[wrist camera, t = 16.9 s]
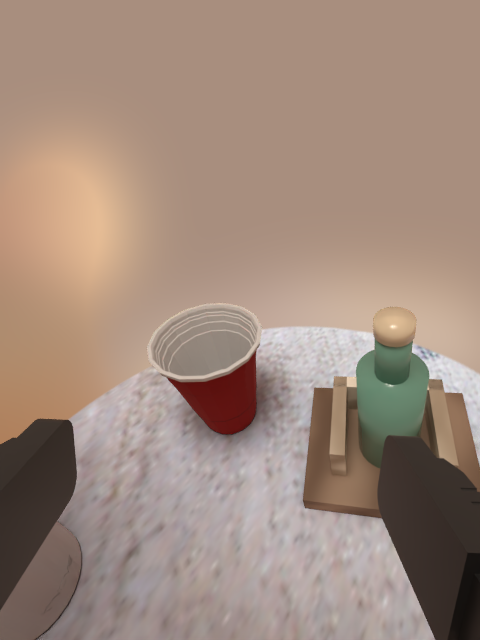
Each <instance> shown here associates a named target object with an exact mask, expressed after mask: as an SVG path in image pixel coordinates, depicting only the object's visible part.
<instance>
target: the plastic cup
mask: <svg viewBox="0 0 480 640" xmlns="http://www.w3.org/2000/svg"><path fill="white" fill-rule="evenodd" d="M261 331H262V326H261V325H260V322H259V321H258V319H257V317H256V315H255V314H253V313H252V312H250V311H249V310H247V309H245V308H244V307H242V306H236V305H232V304H227V303H215V304H203V305H200V306H196V307H193V308H190V309H186V310H184V311H182V312H180V313H178V314H176V315H175V316H173V317H171V318H169V319H167V320H166V321H165V322H164V323H163V324H162V325H161V326H160V327H159V328H158V329H157V330H156V331H155V332H154V333H153V335H152V338H151V340H150V342H149V344H148V346H147V348H148V359H149V362H150V363H151V364H152V365H153V366H154V367H155V368H156V370H157V371H158V372H159V373H160V374H161V375H162V376H164V377H167V379H168V380H169V381H170V382H171V383H172V384H173V385H174V386H175V387H176V389H177V390H178V391H179V392H180V393H181V395H182V396H183V397H184V398H185V400H186V401H187V402H188V403H189V405H190V406H191V407H192V408H193V410H194V411H195V412H196V413H197V414H198V415H199V416H200V417H201V418H202V419H203V420H204V422H205V423H206V424H207V425H208V426H209V427H210V428H211V429H213V430H214V431H215V432H218V433H221V434H234V433H237V432H239V431H242V430H243V429H245V428H246V427H247V426H248V425H249V424H250V423H251V422H252V420H253V418H254V416H255V412H256V404H257V402H256V350H257V348H258V347H259V345H260V338H261Z"/></svg>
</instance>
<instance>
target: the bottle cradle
mask: <svg viewBox="0 0 480 640" xmlns="http://www.w3.org/2000/svg"><path fill="white" fill-rule="evenodd" d="M420 437H421V438H422V439H423V441H424V442H425V443H426V444H427V446H428V447H429V448H430V450H431V451H432V452H433V453H434V455H435V456H436V457H437V458H444V459H445V460H447V461H448V462H450V463H451V464H452V465H454V466H455V467H457V468H458V469H460V470H461V471H462V472H464V474H465V475H466V476H467V477H468V478H469V480H470V481H471V482H472V483H473V484H474V486H475V487H476V488H477V492H480V467H479V463H478V458H477V454H476V450H475V446H474V441H473V437H472V433H471V429H470V424H469V420H468V416H467V411H466V407H465V403H464V399H463V394H462V393H444V388H443V383H442V380H436V379H429V382H428V389H427V395H426V402H425V409H424V415H423V422H422V428H421V435H420ZM379 474H380V468H377V467H375V466H374V465H372V464H371V463H369V462H368V461H367V460H366V459H365V458H364V456H363V455H362V453H361V451H360V448H359V437H358V408H357V380H356V377H334V386H333V388H314V397H313V407H312V417H311V427H310V436H309V446H308V456H307V466H306V476H305V486H304V496H303V502H304V506H305V508H310V509H318V510H325V511H333V512H340V513H348V514H356V515H363V516H371V517H378V518H382V517H381V514H380V511H379V506H378V499H377V488H378V481H379Z"/></svg>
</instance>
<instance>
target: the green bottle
mask: <svg viewBox="0 0 480 640" xmlns="http://www.w3.org/2000/svg"><path fill="white" fill-rule="evenodd" d="M415 329H416V317H415V315H414V314H413V313H412V312H410V311H409V310H407V309H404V308H400V307H388V308H384V309H381V310H380V311H378V312H377V313H376V314H375V316H374V318H373V335H374V337H375V350H373V351H370V352H369V353H367V354H365V355H364V356H363V357H362V358H361V359H360V361H359V362H358V364H357V368H356V380H357V408H358V437H359V448H360V451H361V453H362V455H363V456H364V458H365V459H366V460H367V461H368V462H369V463H371V464H372V465H374V466H375V467H377V468H381V461H382V454H383V448H384V442H385V439H386V437H387V436H388V435H396V436H418V437H420V435H421V428H422V422H423V415H424V409H425V402H426V395H427V389H428V382H429V371H428V368H427V366H426V364H425V363H424V362H423V361H422V360H421V359H420V358H419V357H418V356H417V355H415V354H413V353H412V343H413V339H414V337H415Z"/></svg>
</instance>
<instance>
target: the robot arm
mask: <svg viewBox="0 0 480 640" xmlns="http://www.w3.org/2000/svg"><path fill="white" fill-rule="evenodd" d="M76 479H77V470H76V458H75V446H74V434H73V426H72V423H71V422H70V421H69V420H56V419H37V420H35V421H34V422H33V423H32V424H31V425H30V426H29V427H28V428H27V429H26V430H25V431H24V432H23V433H22V434H21V435H19V436H18V437H17V438H11V439H10V440H8V441H6V442H4V443H2V444H0V640H35V639H36V638H37V637H39V636H40V635H41V634H42V633H44V632H45V631H46V630H47V629H48V628H49V627H50V626H51V625H52V624H53V623H54V622H55V621H56V620H57V619H58V617H59V616H60V614H61V613H62V612H63V610H64V609H65V607H66V606H67V604H68V602H69V600H70V599H71V597H72V595H73V593H74V590H75V588H76V585H77V582H78V579H79V575H80V570H81V550H80V545H79V543H78V541H77V539H76V537H75V536H74V535H73V534H72V533H71V532H70V531H69V530H68V529H66V528H65V527H64V526H63V525H61V524H60V523H59V522H58V521H57V520H58V518H59V517H60V515H61V514H62V512H63V510H64V509H65V507H66V506H67V504H68V502H69V501H70V499H71V497H72V495H73V492H74V489H75V485H76ZM377 499H378V506H379V511H380V514H381V517H382V519H383V521H384V523H385V526H386V528H387V530H388V532H389V535H390V537H391V539H392V542H393V544H394V546H395V548H396V551H397V553H398V555H399V558H400V560H401V562H402V564H403V567H404V569H405V571H406V574H407V576H408V578H409V580H410V583H411V585H412V587H413V590H414V592H415V594H416V596H417V599H418V601H419V603H420V606H421V608H422V610H423V612H424V615H425V617H426V619H427V621H428V624H429V626H430V628H431V631H432V633H433V635H434V637H435V640H480V492H477V488H476V487H475V486H474V484H473V483H472V482H471V481H470V480H469V478H468V477H467V476H466V475H465V474H464V472H462V471H461V470H460V469H458V468H457V467H455V466H454V465H452V464H451V463H450V462H448V461H447V460H445V459H444V458H437V457H436V456H435V455H434V453H433V452H432V451H431V450H430V448H429V447H428V446H427V444H426V443H425V442H424V441H423V439H422V438H421V437H418V436H396V435H388V436H387V437H386V439H385V442H384V448H383V454H382V461H381V468H380V474H379V481H378V488H377Z"/></svg>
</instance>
